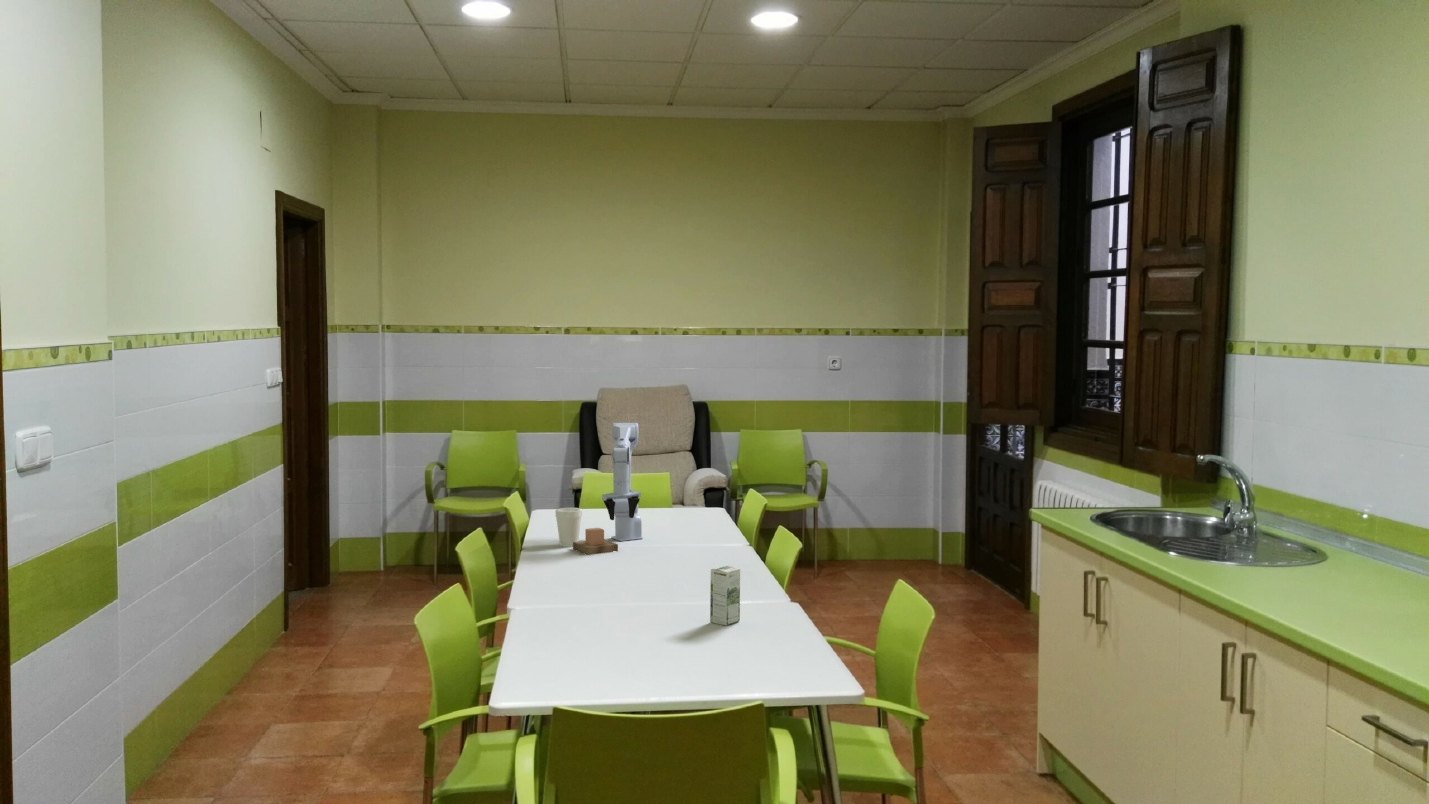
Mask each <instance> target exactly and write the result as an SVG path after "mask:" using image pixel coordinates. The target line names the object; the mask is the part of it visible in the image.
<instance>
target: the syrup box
mask: <svg viewBox="0 0 1429 804" xmlns="http://www.w3.org/2000/svg"><path fill="white" fill-rule="evenodd" d="M709 593H710V596H709V597H710V600H709V601H710V605H709V606H710V608H709V610H710V613H709V617H710V618H709V619H710V621H709V622H710V623H712V624H715V625H722V626H729V625H733V624H736V623H738V622H740V617H741V615H740V614H741V613H740V612H741V606H740V605H741V569H740V568H739V567H735V566H731V565H730V566H729V565H722V566H719V567H715V568H711V569H710V592H709Z"/></svg>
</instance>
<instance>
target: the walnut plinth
mask: <svg viewBox="0 0 1429 804" xmlns="http://www.w3.org/2000/svg"><path fill="white" fill-rule="evenodd" d="M618 545H619V544H618V543H615V542H613V541H611V540H607V539H605V538H604V544H598V545H589V544H587V543H586V540H580V541H579V540H578V542H573V547H572V549H573V550H574V551H576V550H577V552H579V553H581V554H584V555H585V554H586V556H588V555H590V556H591V555H598V554H606V553H614V552H613V551H616V552H619V546H618Z"/></svg>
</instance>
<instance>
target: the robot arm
mask: <svg viewBox="0 0 1429 804" xmlns="http://www.w3.org/2000/svg"><path fill="white" fill-rule="evenodd" d="M639 431H640V430H639V423H638V422H613V423H612V424H611V436H612V442H613V446H614V448H613V449H611V463H612V469H613V470H612V475H613V478H612V480H613V483H612V485H613V491H612V492H611V493H604V494H601V500H602V501H603V503H604V505H605V507H606V509H607V513H608V516H609V520H610V521H614V522H615V524H614V526H615V527H614V528H615V529H614V531H615V533H614V534H615V535H613V536H611V539H614V540H616V541H617V542H618V541H619V542H624V541H632V540H639V539H640V540H641V539H644V538H643V535H642V532H643V531H642V524H643V523H642V518H641V516H640V515H639V514H638V512H639V503H640V501H641V500H640V498H642V492H641V491H635V490H633V489H632V488H631V487H632V486H631V485H632V483H631V482H632V453H633V451H634V450H633V449H634V448H636V447H637V446H638V443H639Z"/></svg>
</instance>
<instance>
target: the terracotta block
mask: <svg viewBox="0 0 1429 804" xmlns="http://www.w3.org/2000/svg"><path fill="white" fill-rule="evenodd" d="M584 531H585V541H586V543H587V544H589V545H598V544H604V539H605V529H603V528H600V527H593V528H591V527H590V528H585V530H584Z"/></svg>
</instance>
